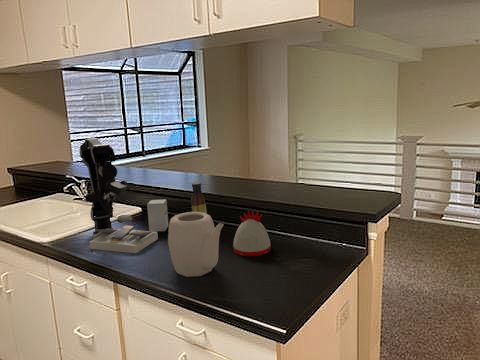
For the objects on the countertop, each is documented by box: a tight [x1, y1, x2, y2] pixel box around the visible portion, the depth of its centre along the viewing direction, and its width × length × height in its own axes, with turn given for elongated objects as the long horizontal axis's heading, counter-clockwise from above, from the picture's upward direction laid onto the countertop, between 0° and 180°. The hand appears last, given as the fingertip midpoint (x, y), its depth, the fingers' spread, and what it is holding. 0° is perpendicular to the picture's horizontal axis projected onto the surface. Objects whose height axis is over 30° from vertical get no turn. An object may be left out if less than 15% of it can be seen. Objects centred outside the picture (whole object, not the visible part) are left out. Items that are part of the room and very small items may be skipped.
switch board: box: [89, 228, 159, 254], centre depth 163 cm, size 23×16×4 cm
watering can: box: [167, 211, 224, 278], centre depth 131 cm, size 16×27×19 cm, turn 47°
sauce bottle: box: [190, 181, 208, 214], centre depth 179 cm, size 6×6×20 cm
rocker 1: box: [96, 228, 117, 234], centre depth 165 cm, size 4×9×2 cm, turn 160°
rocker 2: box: [112, 224, 135, 239], centre depth 162 cm, size 4×9×2 cm, turn 160°
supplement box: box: [146, 199, 169, 232], centre depth 179 cm, size 7×7×13 cm
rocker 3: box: [130, 230, 153, 237], centre depth 159 cm, size 4×9×2 cm, turn 161°
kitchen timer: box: [232, 210, 272, 257], centre depth 150 cm, size 14×14×15 cm
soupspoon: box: [117, 214, 133, 223], centre depth 201 cm, size 22×3×7 cm
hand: (108, 213), depth 164 cm, fingers closed
